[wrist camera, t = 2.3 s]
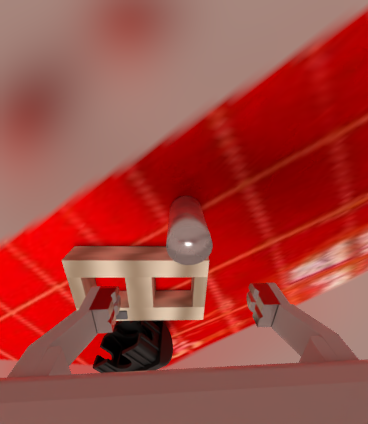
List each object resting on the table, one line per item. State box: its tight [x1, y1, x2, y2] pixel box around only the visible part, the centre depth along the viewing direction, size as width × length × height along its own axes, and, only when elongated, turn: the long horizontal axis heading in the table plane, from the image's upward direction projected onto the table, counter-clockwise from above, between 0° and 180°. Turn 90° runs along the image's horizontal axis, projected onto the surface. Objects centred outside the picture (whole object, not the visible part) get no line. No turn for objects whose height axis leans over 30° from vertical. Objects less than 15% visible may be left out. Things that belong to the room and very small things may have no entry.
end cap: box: [93, 320, 173, 373], centre depth 29 cm, size 10×7×7 cm
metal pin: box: [166, 196, 212, 265], centre depth 19 cm, size 4×4×8 cm
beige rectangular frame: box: [62, 246, 209, 321], centre depth 25 cm, size 18×11×3 cm, turn 88°
